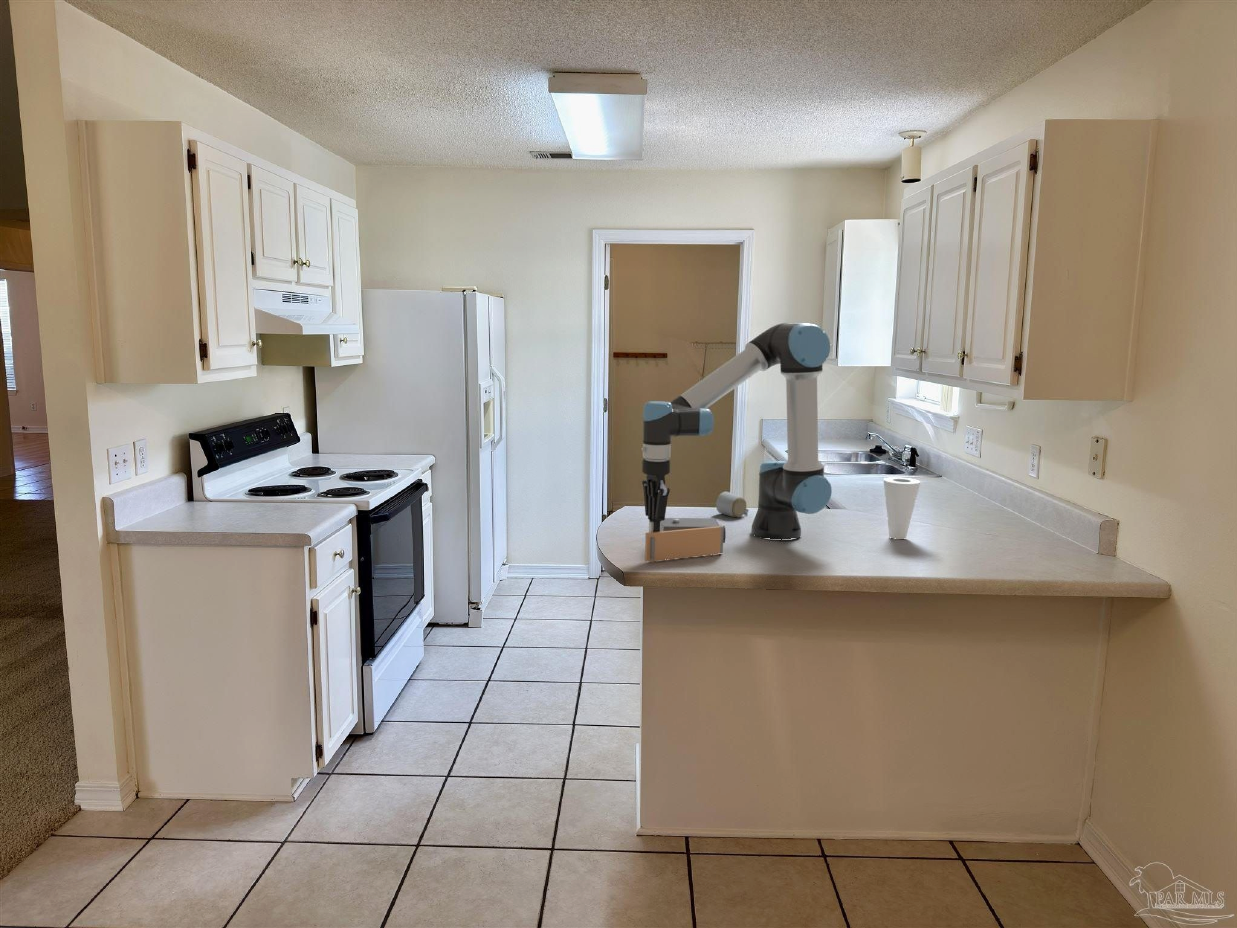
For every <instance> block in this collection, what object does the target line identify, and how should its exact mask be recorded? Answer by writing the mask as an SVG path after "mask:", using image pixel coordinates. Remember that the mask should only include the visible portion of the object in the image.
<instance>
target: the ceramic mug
mask: <svg viewBox="0 0 1237 928" xmlns="http://www.w3.org/2000/svg"><path fill="white" fill-rule="evenodd" d="M715 508H716V511H717V512H718V513H719V514H721V515H725V516H729V517H732V518H740V517H742V516H743V515H744V514H745V515H748V513H749V509H748V508H747V501H746V499H745V498H744V497H742V496H741V495H737V494H734V493H731V492H729V491H722V492H721V493H719V495H718V496H717V499H716V502H715Z"/></svg>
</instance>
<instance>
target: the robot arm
mask: <svg viewBox="0 0 1237 928" xmlns="http://www.w3.org/2000/svg"><path fill="white" fill-rule="evenodd" d="M830 342H831V341H830V338H829V336H828V334H827V333H826V332H825V330H824V329H823V328H822V327H820V326H819V325H816V324H813V323H808V322H801V323H797V322H796V323H795V322H794V323H793V322H792V323H790V322H782V323H778V324H775V325H772V326H771V327H769V328H768V329H767V330H765V331H763V332H762V333H760V334H758V335H757V336H756V337H754V338H753V339H752V340H750V341H749V342H748V343H745V347H744V349H743V350H742V351H741V352H738V354H736V355H735V356H734V357H732V358H730V360H728V361H726V362H725V363H723V364H722V365H721V366H719V367H718V368H717V369H715V370H714V371H713V372H711V373H710V374H708V375H707V376H705V377H704V378H702V379H701V380H700V381H699V382H697V383H695V384H694V385H693V386H691V387H689V388H688V389H687V390H686V391H684V392H683V393H682V394H680V395H679V396H677V397H675V398H674V399H673V400H671V401H660V400H659V401H658V400H653V401H647V402H645V404H644V405H643V415H642V426H643V427H642V435H643V436H642V447H641V451H642V457H643V460H642V461H641V462H642V463H641V464H642V465H641V472H642V473H643V474H644V475H646V480H644V479H643V480H641V482H642V483H641V484H642V487H643V488H642V489H643V498H644V500H643V501H644V512H645V516H646V517H647V519H648V521H649V522H648V533H650V532H660V521H663V520H665V518H666V512H667V506H668V499H669V495H670V492H671V491H670V488H669V487H666V477H665V476H666V475H669V474H670V473H671V461H670V459H671V455H672V453H671V452H672V451H671V450H672V448H671V447H672V437H673V438H674V437H675V438H676V437H701V436H702V437H703V436H708V435H710V434H712V432H713V429H714V425H715V424H714V422H715V420H714V415H713V413H712V411H711V409H709V407H710V406H712V405H714V404H715V403H716V402H717V401H719V400H720V399H721V398H723V397H724V396H725V395H727V394H728V393H730V392H731V391H733V390H735V389H736V388H737V387H739V386H740V385H742V384H743V383H745V381H747V380H748V379H749V378H751V377H753V376H754V375H756V374H757V373H758V372H759V371H761V372H766V371H767V370H768V369H770V368H771V367H773V366H776V365H779V364H780V374H781V375H782V376H783V377H784V378H785V385H786V387H785V388H786V390H785V391H786V428H787V429H786V432H787V433H786V434H787V435H786V436H787V442H786V444H787V460H773V461H764V462H763V461H762V463H760V466H759V471H758V476H759V478H758V479H759V480H758V481H759V482H758V505H757V511H756V514H755V517H754V518H753V521H752V524H751V528H750V529H751V530H750V531H751V533H752V534H753V535H752V534H751V533H750V534H751V535H752V536H754V535H755V536H754V537H756V538H759V537H761V538H760V539H763V538H770V539H781V540H782V539H791V538H798V537H800V536H802V527H801V524H800V523H801V522H800V520H799V517H798V513H801V514H808V515H814V514H817V513H819V512H820V511H822V510H823V509H824V508H825V506H827V505H828V503H829V502H830V500H831V498H832V491H833V489H832V485H831V483H830V481H829V480H828V479H827V477H825V473H824V472H825V471H824V470H825V469H824V466H825V465H824V464H823V463H822V462H821V461H820V460H819V432H818V431H819V427H818V425H819V424H818V421H819V420H818V413H819V412H818V410H819V409H818V377H819V375H821V374H822V373H823V366H824V365H823V364H825V362H826V361H827V358H829V356H830V352H831V343H830ZM800 538H801V537H800ZM798 539H799V538H798ZM781 540H780V541H781Z"/></svg>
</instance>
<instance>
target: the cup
mask: <svg viewBox="0 0 1237 928" xmlns="http://www.w3.org/2000/svg"><path fill="white" fill-rule="evenodd" d="M883 486H884V487H883V488H884V489H883V490H884V496H885V507H886V517H887V528H888V537H891V538H896V539H904V538H906V539H907V535H908V532H909V531H908V530H909V528H910V524H911V519H912V516H913V511H914V508H915V506H916V505H915V503H916V501H917V498H918V497H917V496H918V493H919V488H920V486H921V480H918V479H915V478H911V477H910V478H909V477H902V476H901V477H899V476H889V477H885V478H883ZM891 538H890V539H891Z"/></svg>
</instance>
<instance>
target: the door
mask: <svg viewBox="0 0 1237 928" xmlns="http://www.w3.org/2000/svg"><path fill="white" fill-rule="evenodd" d="M724 526H725V525H720V526H717V527H706V528H694V529H683V530H672V531H661V532H650V533H649V532H645V542H644V543H645V545H644V548H645V549H644V562H645V561H646V562H645V563H648V562H647V561H656V562H660V561H659V560H665V559H666V560H665V561H668V560H667V559H675V558H684V559H687V558H686V557H693V556H703V555H711V554H712V555H713V554H718V553H724V551H723V550H724V543H723V531H724ZM713 556H714V555H713ZM675 560H676V559H675Z"/></svg>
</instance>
